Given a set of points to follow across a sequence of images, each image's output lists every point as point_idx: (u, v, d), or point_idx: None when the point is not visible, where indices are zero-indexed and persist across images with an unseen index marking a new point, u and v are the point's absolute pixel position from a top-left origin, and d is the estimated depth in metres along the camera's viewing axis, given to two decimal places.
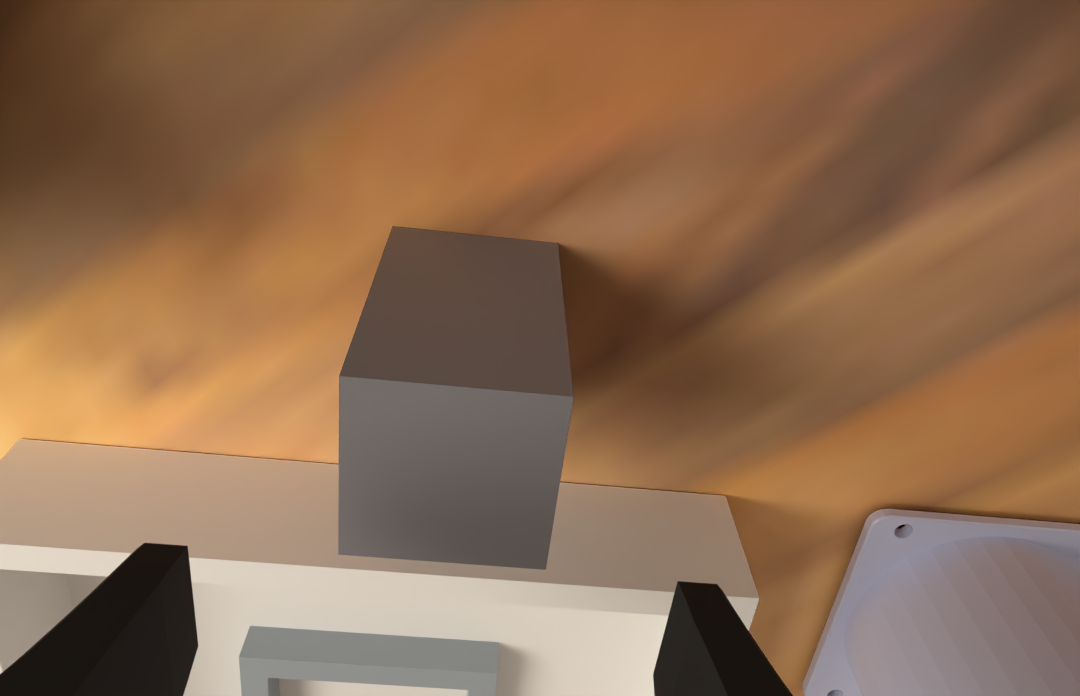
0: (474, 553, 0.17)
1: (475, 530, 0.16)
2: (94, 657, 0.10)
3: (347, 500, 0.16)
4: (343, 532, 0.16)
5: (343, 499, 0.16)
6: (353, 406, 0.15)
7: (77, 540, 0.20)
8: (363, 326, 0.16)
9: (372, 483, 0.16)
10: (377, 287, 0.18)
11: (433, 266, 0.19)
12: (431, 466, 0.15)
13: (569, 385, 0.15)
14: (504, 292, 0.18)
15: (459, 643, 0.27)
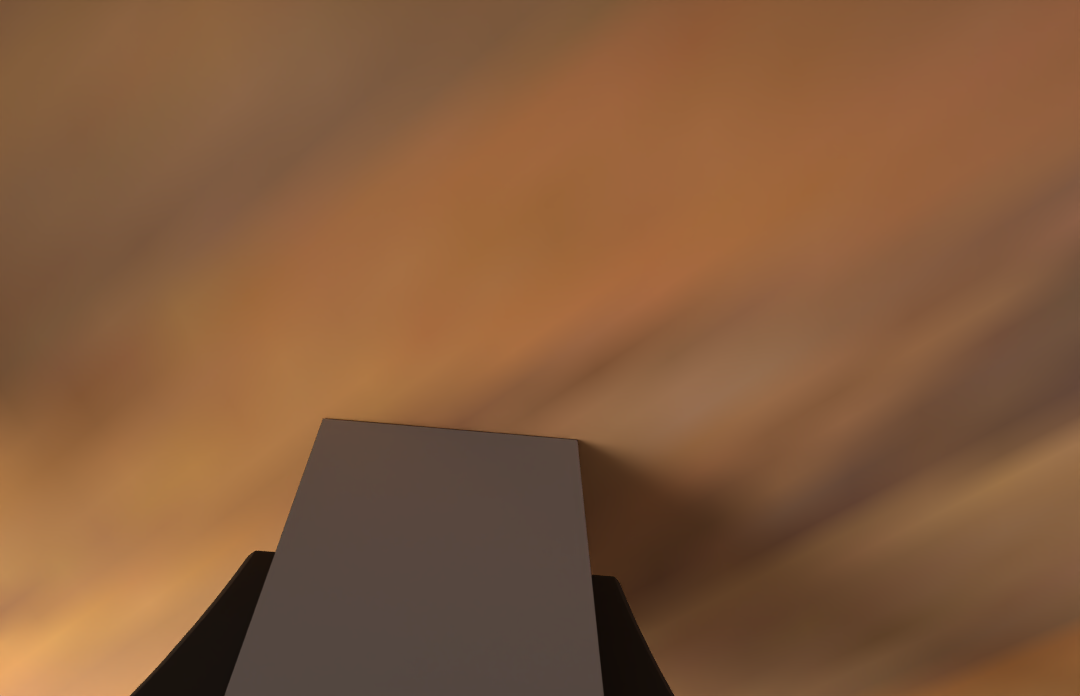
0: None
1: None
2: (231, 665, 0.10)
3: None
4: None
5: None
6: None
7: None
8: None
9: None
10: (277, 578, 0.10)
11: (379, 512, 0.12)
12: None
13: None
14: (494, 574, 0.11)
15: None
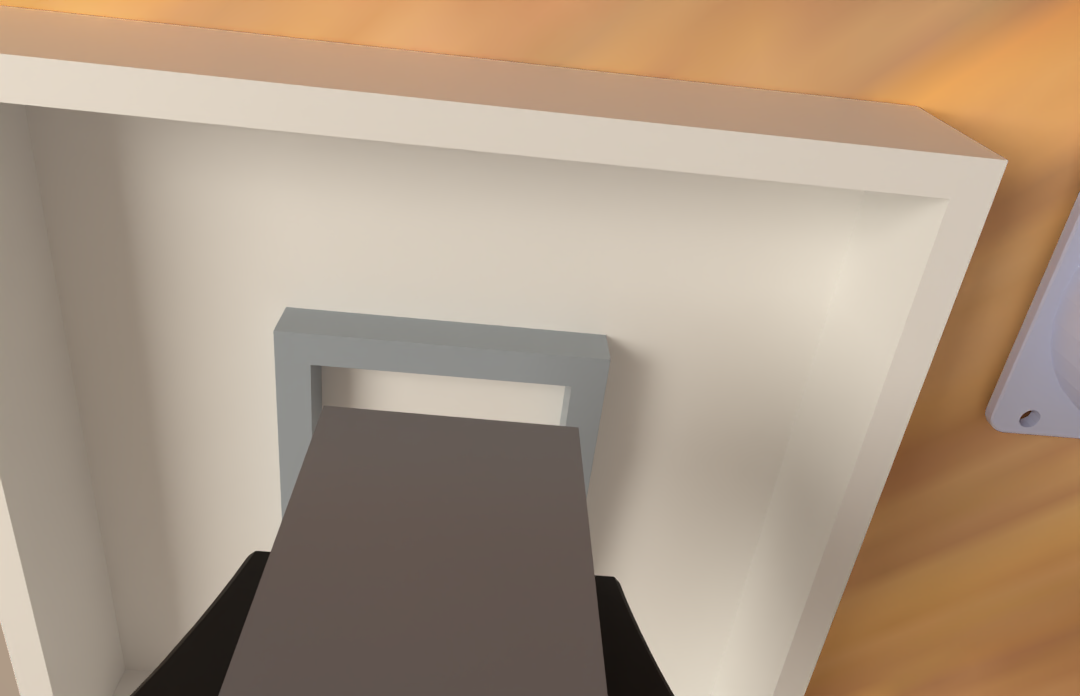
0: None
1: None
2: None
3: None
4: None
5: None
6: None
7: (52, 54, 0.14)
8: (235, 680, 0.09)
9: None
10: (278, 561, 0.10)
11: (380, 497, 0.12)
12: None
13: None
14: (494, 558, 0.11)
15: (556, 333, 0.20)
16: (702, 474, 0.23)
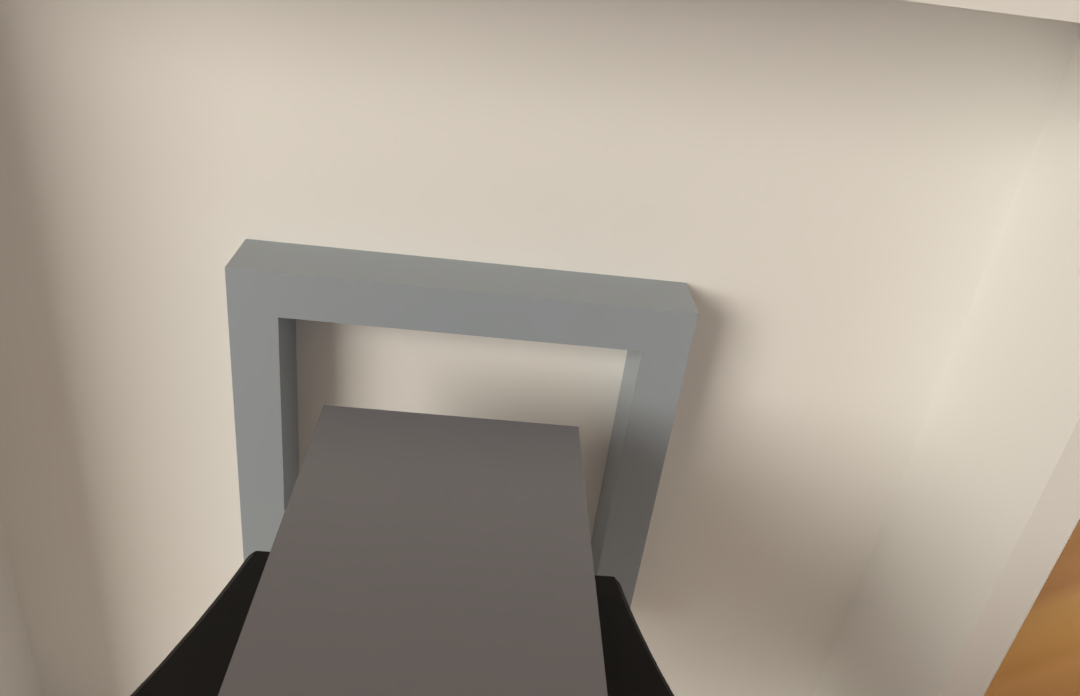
0: None
1: None
2: None
3: None
4: None
5: None
6: None
7: None
8: (235, 679, 0.09)
9: None
10: (278, 561, 0.10)
11: (380, 496, 0.12)
12: None
13: None
14: (494, 557, 0.11)
15: (619, 278, 0.15)
16: (802, 475, 0.17)
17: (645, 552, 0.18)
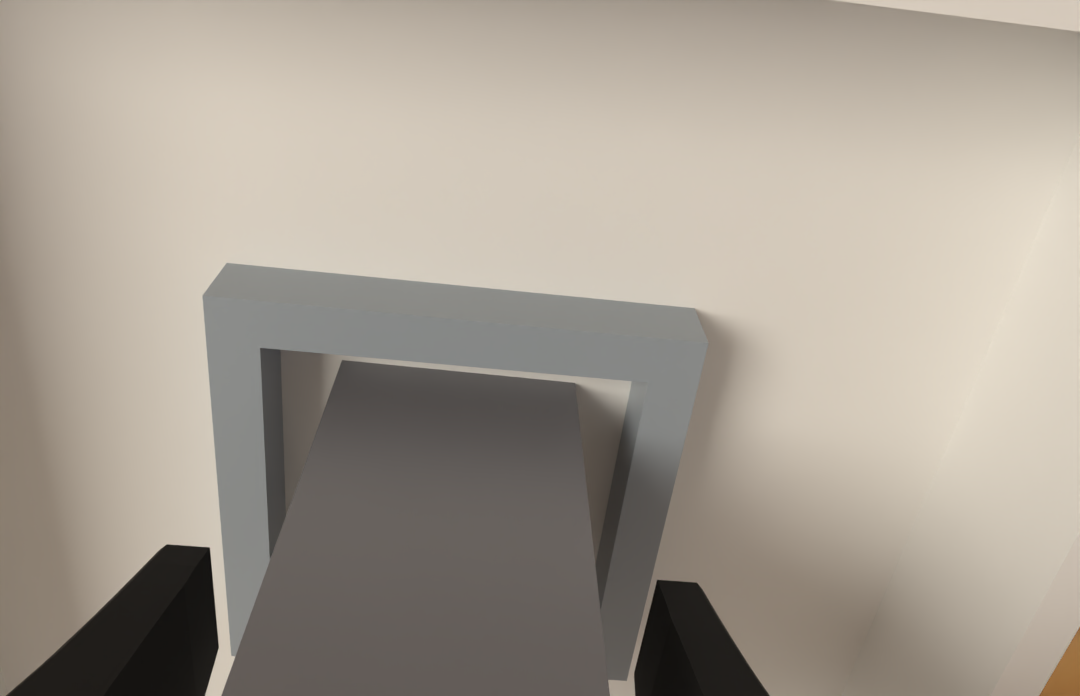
0: None
1: None
2: (122, 659, 0.10)
3: None
4: None
5: None
6: None
7: None
8: (272, 581, 0.10)
9: None
10: (306, 488, 0.12)
11: (395, 437, 0.13)
12: None
13: None
14: (499, 489, 0.12)
15: (624, 304, 0.14)
16: (816, 507, 0.16)
17: (650, 587, 0.17)
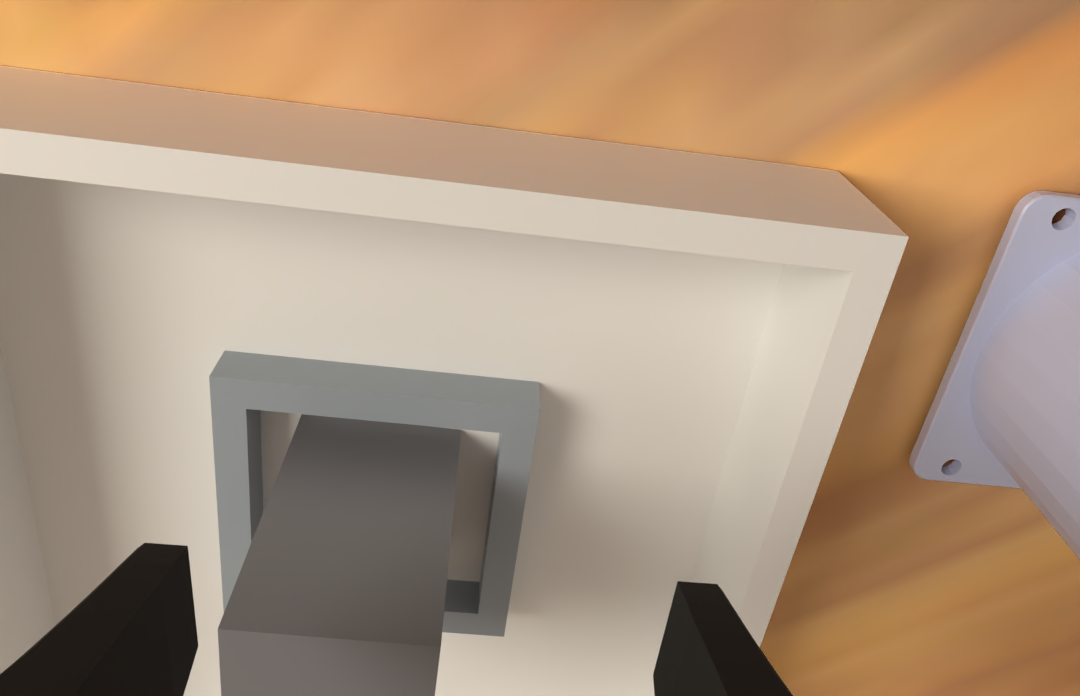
0: None
1: None
2: (94, 657, 0.10)
3: None
4: None
5: None
6: (232, 652, 0.16)
7: None
8: (251, 558, 0.17)
9: None
10: (273, 502, 0.19)
11: (333, 468, 0.20)
12: None
13: (439, 631, 0.16)
14: (397, 503, 0.19)
15: (490, 379, 0.21)
16: (635, 515, 0.23)
17: (523, 571, 0.24)
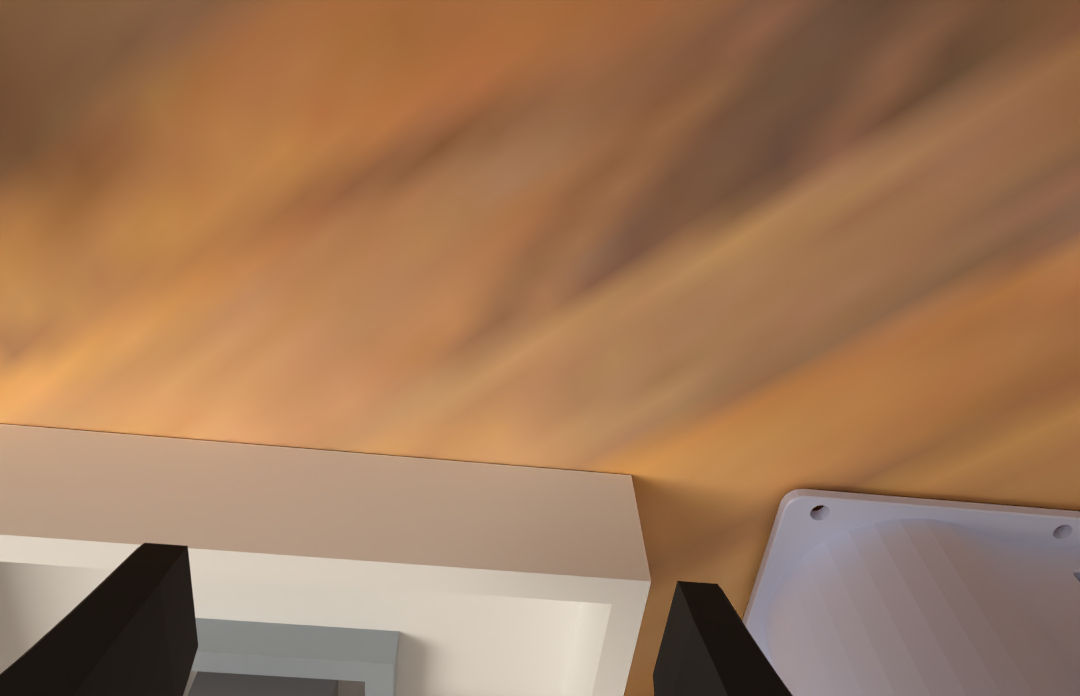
0: None
1: None
2: (94, 657, 0.10)
3: None
4: None
5: None
6: None
7: None
8: None
9: None
10: None
11: None
12: None
13: None
14: None
15: (357, 632, 0.25)
16: None
17: None
